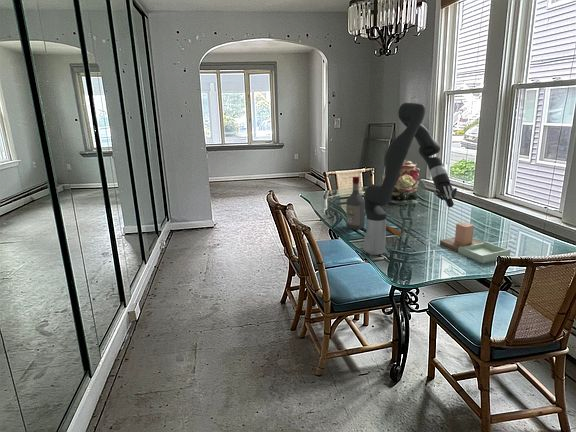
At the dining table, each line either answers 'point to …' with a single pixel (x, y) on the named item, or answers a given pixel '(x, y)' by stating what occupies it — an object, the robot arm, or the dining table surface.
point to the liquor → (355, 208)
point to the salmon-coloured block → (464, 233)
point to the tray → (483, 252)
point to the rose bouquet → (406, 184)
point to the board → (456, 244)
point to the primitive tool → (393, 230)
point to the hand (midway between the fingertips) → (451, 206)
